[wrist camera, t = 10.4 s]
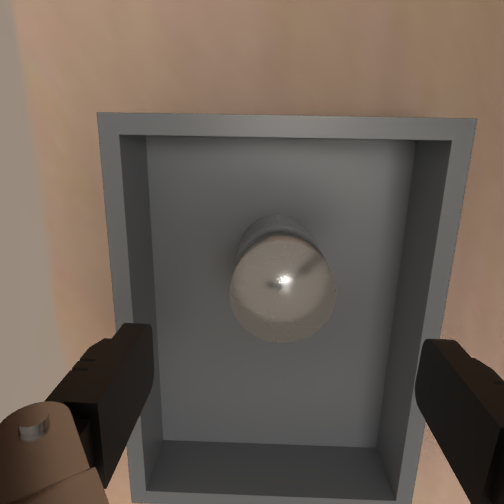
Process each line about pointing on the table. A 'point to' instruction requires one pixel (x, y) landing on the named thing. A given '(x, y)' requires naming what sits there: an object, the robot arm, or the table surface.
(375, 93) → the table surface
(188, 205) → the tote
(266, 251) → the cylinder
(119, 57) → the table surface
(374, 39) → the table surface
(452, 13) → the table surface
